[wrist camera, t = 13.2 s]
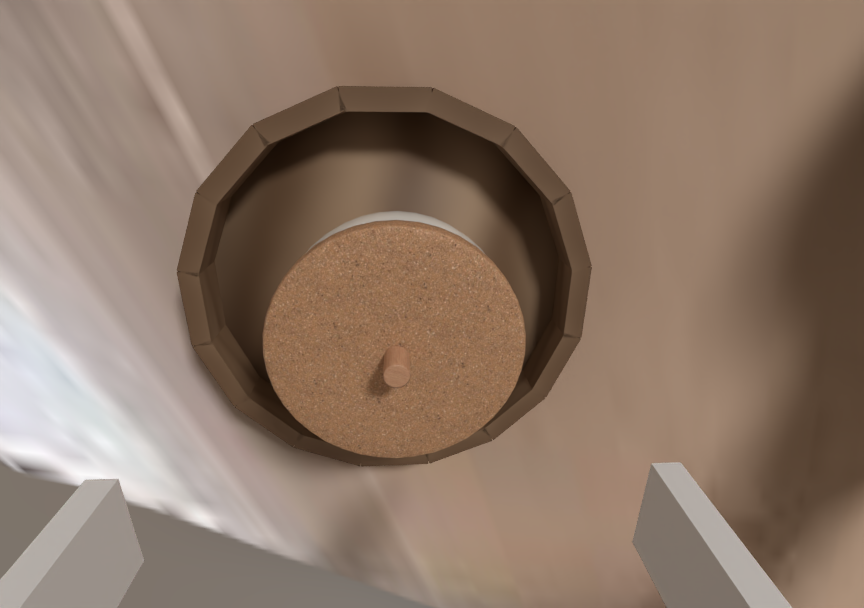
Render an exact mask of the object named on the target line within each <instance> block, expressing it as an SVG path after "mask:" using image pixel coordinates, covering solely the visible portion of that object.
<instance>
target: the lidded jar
mask: <svg viewBox="0 0 864 608" xmlns="http://www.w3.org/2000/svg"><path fill="white" fill-rule="evenodd" d="M262 338H263V356H264V361H265V366H266V371H267V374H268V376H269V379H270V381H271V384H272V386H273V389H274V390H275V392H276V394H277V395H278V397H279V399H280V400H281V402H282V403H283V405H284V406H285V407H286V408H287V410H288V411H289V412H290V413H291V414H292V415H293V417H294V418H295V419H296V420H297V421H299V422H300V423H301V424H302V425H303V426H304V427H306V428H307V429H308V430H309V431H311V432H312V433H314V434H315V435H317V436H318V437H320V438H321V439H323V440H324V441H326V442H328V443H331V444H333V445H335V446H337V447H340V448H342V449H345V450H348V451H351V452H354V453H357V454H361V455H368V456H374V457H385V458H403V457H414V456H419V455H424V454H429V453H434V452H436V451H439V450H442V449H445V448H447V447H450V446H452V445H454V444H456V443H458V442H460V441H463V440H465V439H466V438H468V437H469V436H471V435H472V434H474V433H475V432H476V431H478V430H479V429H481V428H482V427H483V426H484V425H485V424H486V423H487V422H489V421H490V420H491V419H492V418H493V417H494V416H495V415H496V414H497V413H498V411H499V410H500V409H501V408H502V406H503V405H504V404H505V403H506V401H507V400H508V398H509V396H510V395H511V393H512V391H513V390H514V388H515V386H516V383H517V381H518V378H519V376H520V373H521V371H522V366H523V361H524V356H525V346H526V332H525V325H524V318H523V314H522V311H521V308H520V305H519V302H518V299H517V297H516V295H515V294H514V292H513V290H512V288H511V286H510V284H509V282H508V281H507V279H506V277H505V276H504V275H503V274H502V272H501V271H500V270H499V268H498V267H497V266H496V265H495V263H494V262H493V261H492V260H491V259H490V258H489V257H488V256H487V255H486V254H485V253H484V252H483V250H482V249H481V248H480V247H479V246H478V245H476V244H475V243H474V242H473V241H472V240H471V239H470V238H469V237H468V236H466V235H465V234H463V233H462V232H460V231H459V230H457V229H455V228H454V227H452V226H451V225H449V224H447V223H445V222H443V221H440V220H438V219H436V218H433V217H430V216H426V215H422V214H418V213H413V212H403V211H389V212H377V213H373V214H368V215H364V216H360V217H358V218H355V219H353V220H350V221H348V222H345V223H343V224H342V225H340V226H338V227H337V228H335V229H333V230H332V231H330V232H328V233H327V234H325V235H324V236H323V237H322V238H321V239H319V240H318V241H317V242H316V243H315V244H313V245H312V246H311V247H310V248H309V250H308V251H307V252H306V253H305V254H304V255H303V256H302V257H300V258H299V259H298V260H297V262H296V263H295V264H294V265H293V266H292V267H291V269H290V270H289V271H288V272H287V273H286V275H285V276H284V277H283V279H282V281H281V282H280V284H279V286H278V288H277V290H276V291H275V293H274V295H273V297H272V299H271V301H270V304H269V307H268V310H267V313H266V316H265V322H264V328H263V334H262Z"/></svg>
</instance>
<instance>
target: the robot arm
mask: <svg viewBox="0 0 864 608" xmlns="http://www.w3.org/2000/svg"><path fill="white" fill-rule="evenodd" d="M633 544H634V546H635V548H636V550H637V552H638V554H639V555H640V557H641V559H642V561H643V563H644V565H645V567H646V569H647V571H648V573H649V575H650V577H651V579H652V581H653V582H654V584H655V586H656V588H657V590H658V592H659V594H660V596H661V598H662V600H663V602H664V604H665V606H666V607H667V608H792V607H791V605H790V604H789V603H788V601H787V600H786V599H785V598H784V596H783V595H782V594H781V592H780V591H779V590H778V588H777V587H776V586H775V585H774V583H773V582H772V581H771V579H770V578H769V577H768V575H767V574H766V573H765V572H764V570H763V569H762V568H761V566H760V565H759V564H758V562H757V561H756V560H755V558H754V557H753V556H752V555H751V553H750V552H749V551H748V549H747V548H746V547H745V545H744V544H743V543H742V542H741V540H740V539H739V538H738V536H737V535H736V534H735V532H734V531H733V530H732V529H731V527H730V526H729V525H728V523H727V522H726V521H725V519H724V518H723V517H722V516H721V514H720V513H719V512H718V510H717V509H716V508H715V506H714V505H713V504H712V503H711V501H710V500H709V499H708V497H707V496H706V495H705V493H704V492H703V491H702V490H701V488H700V487H699V486H698V484H697V483H696V482H695V480H694V479H693V478H692V477H691V475H690V474H689V473H688V471H687V470H686V469H685V467H684V466H683V465H682V464H681V462H678V463H651V467H650V471H649V475H648V480H647V484H646V488H645V492H644V496H643V500H642V504H641V509H640V513H639V517H638V521H637V525H636V529H635V533H634V538H633ZM143 562H144V558H143V555H142V552H141V549H140V546H139V542H138V540H137V537H136V533H135V530H134V527H133V524H132V520H131V517H130V515H129V511H128V508H127V505H126V502H125V498H124V495H123V492H122V489H121V486H120V483H119V480H118V479H99V480H85V481H84V482H83V483H82V484H81V485H80V487H79V488H78V489H77V490H76V491H75V492H74V494H73V495H72V496H71V497H70V498H69V500H68V501H67V502H66V503H65V504H64V506H63V507H62V508H61V509H60V510H59V511H58V513H57V514H56V515H55V516H54V517H53V518H52V520H51V521H50V522H49V523H48V524H47V525H46V527H45V528H44V529H43V530H42V531H41V532H40V534H39V535H38V536H37V537H36V538H35V540H34V541H33V542H32V543H31V544H30V545H29V547H28V548H27V549H26V550H25V551H24V553H23V554H22V555H21V556H20V557H19V558H18V560H17V561H16V562H15V563H14V564H13V565H12V567H11V568H10V569H9V570H8V571H7V573H6V574H5V575H4V576H3V577H2V578H1V580H0V608H118V606H119V604H120V602H121V600H122V599H123V597H124V595H125V594H126V592H127V590H128V588H129V586H130V585H131V583H132V581H133V579H134V578H135V576H136V574H137V572H138V571H139V569H140V567H141V565H142V564H143Z"/></svg>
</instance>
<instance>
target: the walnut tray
mask: <svg viewBox="0 0 864 608" xmlns="http://www.w3.org/2000/svg"><path fill="white" fill-rule="evenodd" d="M389 211H403V212H413V213H418V214H422V215H426V216H430V217H433V218H436V219H438V220H440V221H443V222H445V223H447V224H449V225H451V226H452V227H454V228H455V229H457V230H459V231H460V232H462V233H463V234H465V235H466V236H468V237H469V238H470V239H471V240H472V241H473V242H474V243H475V244H476V245H478V246H479V247H480V248H481V249H482V250H483V252H484V253H485V254H486V255H487V256H488V257H489V258H490V259H491V260H492V261H493V262H494V263H495V265H496V266H497V267H498V268H499V270H500V271H501V272H502V274H503V275H504V276H505V277H506V279H507V281H508V282H509V284H510V286H511V288H512V290H513V292H514V294H515V295H516V297H517V299H518V302H519V305H520V308H521V311H522V314H523V318H524V325H525V332H526V346H525V356H524V361H523V366H522V371H521V373H520V376H519V378H518V381H517V383H516V386H515V388H514V390H513V391H512V393H511V395H510V396H509V398H508V400H507V401H506V403H505V404H504V405H503V406H502V408H501V409H500V410H499V411H498V413H497V414H496V415H495V416H494V417H493V418H492V419H491V420H490V421H489V422H487V423H486V424H485V425H484V426H483V427H482V428H481V429H479V430H478V431H476V432H475V433H474V434H472V435H471V436H469V437H468V438H466V439H465V440H463V441H460V442H458V443H456V444H454V445H452V446H450V447H447V448H445V449H442V450H439V451H436V452H434V453H429V454H424V455H419V456H414V457H403V458H385V457H374V456H368V455H361V454H357V453H354V452H351V451H348V450H345V449H342V448H340V447H337V446H335V445H333V444H331V443H328V442H326V441H324V440H323V439H321V438H320V437H318V436H317V435H315V434H314V433H312V432H311V431H309V430H308V429H307V428H306V427H304V426H303V425H302V424H301V423H300V422H299V421H297V420H296V419H295V418H294V417H293V415H292V414H291V413H290V412H289V411H288V410H287V408H286V407H285V406H284V405H283V403H282V402H281V400H280V399H279V397H278V395H277V394H276V392H275V390H274V389H273V386H272V384H271V381H270V379H269V376H268V374H267V371H266V366H265V361H264V356H263V338H262V334H263V328H264V322H265V316H266V313H267V310H268V307H269V304H270V301H271V299H272V297H273V295H274V293H275V291H276V290H277V288H278V286H279V284H280V282H281V281H282V279H283V277H284V276H285V275H286V273H287V272H288V271H289V270H290V269H291V267H292V266H293V265H294V264H295V263H296V262H297V260H298V259H299V258H300V257H302V256H303V255H304V254H305V253H306V252H307V251H308V250H309V248H310V247H311V246H312V245H313V244H315V243H316V242H317V241H318V240H319V239H321V238H322V237H323V236H324V235H325V234H327V233H328V232H330V231H332V230H333V229H335V228H337V227H338V226H340V225H342V224H343V223H345V222H348V221H350V220H353V219H355V218H358V217H360V216H364V215H368V214H373V213H377V212H389ZM590 266H591V262H590V258H589V255H588V251H587V248H586V244H585V240H584V237H583V233H582V230H581V226H580V222H579V219H578V215H577V212H576V208H575V204H574V201H573V197H572V194H571V192H570V190H569V189H568V188H567V186H566V185H565V184H564V183H563V182H562V180H561V179H560V178H559V177H558V176H557V175H556V173H555V172H554V171H553V170H552V169H551V167H550V166H549V165H548V164H547V163H546V162H545V160H544V159H543V158H542V157H541V156H540V154H539V153H538V152H537V151H536V150H535V148H534V147H533V146H532V145H531V144H530V143H529V141H528V140H527V139H526V138H525V137H524V135H523V134H522V133H521V132H520V131H519V130H518V128H517V127H515V126H514V125H511V124H509V123H507V122H505V121H503V120H501V119H499V118H497V117H494V116H492V115H490V114H488V113H486V112H484V111H482V110H480V109H478V108H475V107H473V106H471V105H469V104H467V103H465V102H463V101H461V100H458V99H456V98H454V97H452V96H450V95H448V94H446V93H444V92H442V91H439V90H437V89H435V88H433V89H432V87H366V86H339V87H334V88H332V89H330V90H328V91H325V92H323V93H321V94H319V95H316V96H314V97H312V98H310V99H308V100H305V101H303V102H301V103H299V104H296V105H294V106H292V107H290V108H288V109H285V110H283V111H281V112H279V113H276V114H274V115H272V116H270V117H268V118H265V119H263V120H261V121H259V122H256V123H254V124H253V125H251V126H250V127H249V129H248V130H247V131H246V132H245V133H244V135H243V136H242V137H241V138H240V139H239V141H238V142H237V143H236V144H235V145H234V147H233V148H232V149H231V150H230V151H229V153H228V154H227V155H226V156H225V157H224V159H223V160H222V161H221V162H220V163H219V165H218V166H217V167H216V168H215V169H214V171H213V172H212V173H211V174H210V175H209V176H208V178H207V179H206V180H205V181H204V182H203V184H202V185H201V186H200V187H199V188H198V190H197V192H196V193H195V197H194V201H193V205H192V209H191V213H190V217H189V221H188V226H187V230H186V234H185V238H184V242H183V246H182V251H181V255H180V259H179V263H178V267H177V271H178V272H177V276H178V281H179V286H180V290H181V295H182V300H183V305H184V309H185V314H186V319H187V324H188V329H189V333H190V338H191V343H192V346H193V348H194V350H195V351H196V353H197V354H198V355H199V357H200V358H201V360H202V361H203V363H204V364H205V365H206V367H207V368H208V370H209V371H210V373H211V374H212V375H213V377H214V378H215V380H216V381H217V383H218V384H219V386H220V387H221V388H222V390H223V391H224V393H225V394H226V396H227V397H228V398H229V400H230V401H231V403H232V404H233V406H235V405H236V406H235V408H237V409H238V410H240V411H241V412H243V413H244V414H246V415H247V416H248V417H250V418H251V419H253V420H254V421H256V422H257V423H259V424H260V425H262V426H263V427H264V428H266V429H267V430H269V431H270V432H272V433H273V434H275V435H276V436H278V437H279V438H280V439H282V440H283V441H285V442H286V443H288V444H289V445H291V446H292V447H293V446H294V445H295V446H294V448H298V449H301V450H305V451H308V452H312V453H315V454H319V455H322V456H326V457H330V458H333V459H337V460H340V461H344V462H347V463H351V464H354V465H358V466H360V464H361V466H379V465H406V464H428V461H429V463H432V462H435V461H438V460H440V459H443V458H446V457H449V456H451V455H454V454H457V453H460V452H462V451H465V450H468V449H470V448H473V447H476V446H479V445H481V444H484V443H487V442H490V441H492V439H493V440H494V439H495V438H496V437H498V436H499V435H500V434H501V433H503V432H504V431H505V430H506V429H508V428H509V427H510V426H511V425H513V424H514V423H515V422H516V421H518V420H519V419H520V418H521V417H522V416H524V415H525V414H526V413H527V412H529V411H530V410H531V409H532V408H534V407H535V406H536V405H537V404H539V403H540V402H541V401H542V400H544V399H545V397H547V395H548V393H549V391H550V390H551V388H552V386H553V385H554V383H555V381H556V380H557V378H558V376H559V375H560V373H561V371H562V370H563V368H564V366H565V365H566V363H567V361H568V360H569V358H570V356H571V354H572V353H573V351H574V349H575V348H576V346H577V344H578V343H579V341H580V337H581V336H582V329H583V323H584V316H585V309H586V302H587V296H588V289H589V282H590V275H591V269H592V267H590ZM544 396H545V397H544Z"/></svg>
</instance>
